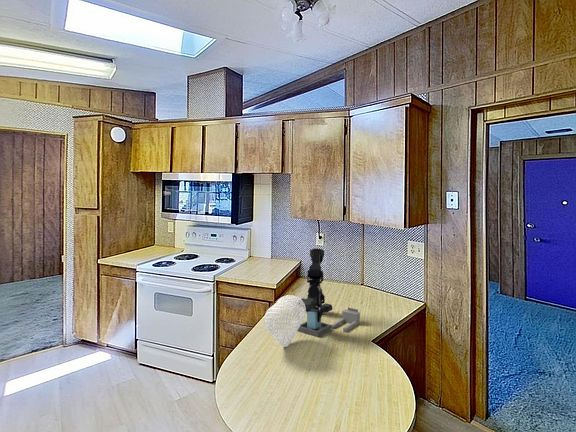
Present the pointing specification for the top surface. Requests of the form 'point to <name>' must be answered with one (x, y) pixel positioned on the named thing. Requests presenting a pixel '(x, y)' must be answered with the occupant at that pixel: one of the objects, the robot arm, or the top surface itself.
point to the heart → (299, 320)
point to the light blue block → (313, 319)
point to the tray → (314, 332)
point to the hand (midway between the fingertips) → (314, 321)
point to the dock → (348, 319)
